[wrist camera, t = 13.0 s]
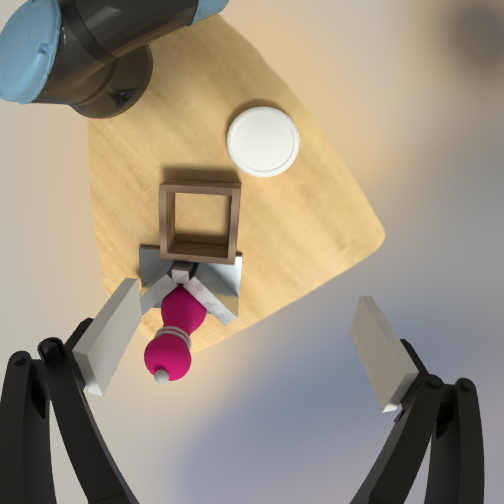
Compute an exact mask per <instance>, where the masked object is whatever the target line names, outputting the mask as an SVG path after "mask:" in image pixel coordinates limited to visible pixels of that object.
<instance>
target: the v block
mask: <svg viewBox="0 0 504 504" xmlns="http://www.w3.org/2000/svg"><path fill="white" fill-rule="evenodd" d="M139 258H140V271H141V281H142V289H141V291H140V292H139V297H140V305H141V313H142V315H144V314H145V313H146V312H147V311H148V310H150V309H151V308H152V307H155V308H161V305H162V301H163V298H164V297H165V296H166V295H167V294H169V293H170V292H171V291H172V290H173V289H175V288H176V287H177V286H178V285H179V283H183V284H184V285H183V287H184V288H186V289H187V290H188V291H189V292H190V293H191V294H192V295H193V296H194V297H195V298H196V299H197V300H198V301H199V302H200V303H201V304H202V305H203V306H204V307H206V308H207V313H209V314H213V315H214V316H215V317H216V318H217V319H219V320H220V321H221V322H222V323H223V324H224V325H225V326H226V325H227V324H229V323H230V322H231V321H233V320H234V319H236V318H237V316H238V304H239V291H240V278H241V266H242V254H236V258H235V265H225V264H213V263H201V262H189V261H178V260H166V259H161V256H160V247H148V246H141V247H140V248H139Z"/></svg>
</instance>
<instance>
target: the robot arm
mask: <svg viewBox="0 0 504 504" xmlns="http://www.w3.org/2000/svg"><path fill="white" fill-rule="evenodd" d="M228 1H229V0H28V1H27V2H25V3H24V4H23V5H22V6H21V7H19V9H17V10H16V11H15V13H14V14H13V15H12V16H11V18H10V19H9V20H8V22H7V23H6V25H5V26H4V28H3V30H2V32H1V34H0V98H1V99H3V100H6V101H11V102H18V103H20V104H27V103H28V104H29V103H47V104H48V103H49V104H65V105H69V106H71V107H72V108H73V109H74V110H75V111H77V112H78V113H79V114H81V115H83V116H86V117H89V118H98V119H105V118H111V117H114V116H117V115H119V114H121V113H123V112H125V111H126V110H128V109H129V108H130V107H131V106H133V105H134V104H135V103H136V102H137V101H138V99H139V98H140V97H141V96H142V94H143V93H144V91H145V90H146V88H147V86H148V83H149V81H150V78H151V74H152V69H153V59H152V54H151V51H150V49H149V47H148V45H147V43H149V42H151V41H153V40H156V39H158V38H160V37H162V36H164V35H166V34H168V33H171V32H173V31H175V30H177V29H180V28H182V27H185V26H192V25H194V24H195V23H196V22H197V21H200V20H202V19H204V18H207V17H209V16H212V15H215V14H217V13H219V12H221V11H222V10H223V9H224V8H225V6H226V5H227V3H228ZM141 319H142V313H141V305H140V297H139V289H138V279H133V278H125V279H124V281H123V282H122V283H121V284H120V286H119V287H118V288H117V290H116V291H115V292H114V293H113V295H112V296H111V297H110V299H109V300H108V301H107V303H106V304H105V305H104V307H103V308H102V309H101V311H100V312H99V313H98V315H97V316H96V318H95V319H92V318H87V319H85V320H84V321H82V322H81V323H80V324H79V325H78V327H77V328H76V330H75V331H74V332H73V334H72V335H71V336H70V338H69V339H68V340H67V342H66V343H65V344H63V342H62V340H60V339H59V338H55V337H51V338H47V339H44V340H43V341H42V342H40V344H39V345H38V349H37V350H38V353H39V355H40V357H41V359H42V360H40V359H39V360H36V359H32V358H31V356H30V354H29V353H28V352H26V351H17V352H16V353H14V354H13V355H12V356H11V357H10V359H9V361H8V365H7V370H6V374H5V379H4V384H3V389H2V395H1V401H0V504H57V502H56V497H55V490H54V483H53V474H52V465H51V452H50V432H49V431H50V429H49V407H50V406H49V405H50V400H51V401H52V405H53V409H54V412H55V416H56V419H57V423H58V426H59V430H60V433H61V436H62V439H63V442H64V445H65V447H66V450H67V453H68V456H69V458H70V461H71V463H72V466H73V468H74V471H75V473H76V475H77V478H78V480H79V482H80V485H81V487H82V489H83V491H84V493H85V495H86V497H87V499H88V504H139V502H138V500H137V499H136V498H135V496H134V494H133V493H132V491H131V490H130V488H129V486H128V484H127V483H126V481H125V479H124V478H123V476H122V474H121V472H120V471H119V469H118V467H117V465H116V463H115V461H114V460H113V458H112V456H111V454H110V452H109V450H108V448H107V446H106V444H105V442H104V440H103V437H102V435H101V433H100V431H99V429H98V427H97V424H96V422H95V419H94V417H93V415H92V412H91V410H90V408H89V405H88V402H87V400H86V397H85V394H84V393H83V389H84V388H85V386H87V388H88V391H89V393H92V394H96V395H100V396H103V395H104V393H105V391H106V389H107V387H108V385H109V383H110V380H111V378H112V376H113V374H114V372H115V370H116V368H117V366H118V364H119V362H120V360H121V358H122V356H123V354H124V352H125V350H126V348H127V345H128V344H129V342H130V340H131V338H132V336H133V334H134V332H135V330H136V328H137V327H138V325H139V323H140V321H141ZM349 333H350V335H351V338H352V340H353V342H354V344H355V347H356V349H357V352H358V354H359V356H360V359H361V361H362V363H363V366H364V368H365V371H366V373H367V375H368V378H369V380H370V383H371V385H372V388H373V390H374V393H375V395H376V398H377V400H378V403H379V405H380V408H381V411H382V412H388V411H394V410H396V408H397V406H398V405H399V404H400V403H401V405H402V408H403V409H402V410H401V412H400V413H399V414H398V416H397V417H396V419H395V420H394V422H395V425H394V427H393V429H392V431H391V433H390V435H389V437H388V439H387V441H386V443H385V445H384V447H383V449H382V451H381V453H380V454H379V456H378V458H377V460H376V462H375V463H374V465H373V467H372V469H371V470H370V472H369V474H368V476H367V477H366V479H365V481H364V482H363V484H362V485H361V487H360V489H359V490H358V492H357V493H356V495H355V496H354V498H353V499H352V501H351V502H350V504H404V502H405V500H406V498H407V496H408V493H409V491H410V489H411V487H412V485H413V482H414V480H415V478H416V475H417V473H418V471H419V468H420V465H421V463H422V460H423V458H424V455H425V452H426V449H427V446H428V444H429V441H430V438H431V435H432V438H431V453H430V464H429V473H428V481H427V489H426V495H425V501H424V504H483V502H484V450H483V436H482V426H481V418H480V410H479V403H478V397H477V391H476V387H475V385H474V384H473V382H472V381H470V380H469V379H467V378H460V379H458V380H457V382H456V383H455V384H454V385H452V384H451V385H450V384H444V383H443V381H442V380H441V379H440V378H439V377H437V376H436V375H433V374H429V373H428V371H427V370H426V368H425V366H424V365H423V363H422V361H421V360H420V358H419V357H418V355H417V353H416V352H415V350H414V349H413V347H412V345H411V344H410V343H408V342H407V341H406V340H405V339H399V338H398V337H397V335H396V333H395V331H394V330H393V328H392V327H391V325H390V324H389V322H388V320H387V319H386V317H385V316H384V314H383V313H382V311H381V310H380V308H379V307H378V305H377V303H376V302H375V300H374V299H373V297H372V296H360V299H359V303H358V306H357V309H356V312H355V315H354V319H353V322H352V325H351V328H350V331H349Z"/></svg>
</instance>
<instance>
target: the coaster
mask: <svg viewBox="0 0 504 504" xmlns="http://www.w3.org/2000/svg"><path fill="white" fill-rule="evenodd" d="M299 144H300V140H299V134H298V130H297V128H296V126H295V124H294V122H293V121H292V120H291V119H290V118H289V117H288V116H287V115H286V114H285V113H283V112H282V111H280V110H277V109H275V108H271V107H263V106H261V107H254V108H251V109H248V110H246V111H244V112H242V113H241V114H239V115H238V116H237V117H236V118H235V120H234V121H233V122H232V124H231V125H230V128H229V130H228V133H227V139H226V145H227V150H228V154H229V156H230V158H231V160H232V161H233V163H234V164H235V165H236V166H237V167H238V168H239V169H240V170H242V171H243V172H245V173H247V174H249V175H252V176H256V177H271V176H275V175H278V174H280V173H282V172H283V171H285V170H286V169H287V168H288V167H290V165H291V164H292V163H293V162H294V160H295V158H296V156H297V154H298V150H299Z"/></svg>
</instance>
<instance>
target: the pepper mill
mask: <svg viewBox="0 0 504 504" xmlns="http://www.w3.org/2000/svg"><path fill="white" fill-rule="evenodd" d="M183 285H184V284H183V283H179V285H178V286H177V287H176V288H175V289H173V290H172V291H171V292H170V293H169V294H167V295H166V296H165V297H164V298H163V301H162V305H161V315H162V319H163V323H164V325H163V327H162V328H160V329H159V330H158V331H157V333H156V335H155V337H154V339H153V340H152V341H150V342H149V344H148V345H147V347H146V349H145V353H144V361H145V364H146V366H147V369H148V370H149V371H150V373H152V374H153V375H154V378H155V380H156V382H157V383H159V384H165V383H167V382H168V381H174V380H178V379H180V378H182V377H183V376H184V375H185V374H186V373H187V372H188V370H189V368H190V365H191V355H190V348H191V339H190V337H189V336H190V334H191V333H192V332H193V331H195V330H196V329H197V328H198V327H199V326H200V325H201V324H202V323H203V321H204V319H205V316H206V313H207V308H206V307H204V306H203V305H202V304H201V303H200V302H199V301H198V300H197V299H196V298H195V297H194V296H193V295H192V294H191V293H190V292H189V291H188V290H187V289H186V288H184V287H183Z"/></svg>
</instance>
